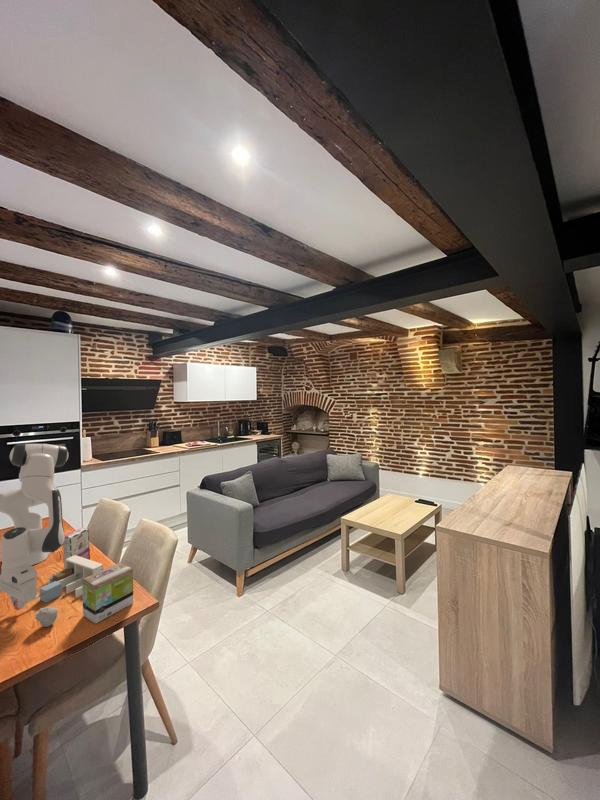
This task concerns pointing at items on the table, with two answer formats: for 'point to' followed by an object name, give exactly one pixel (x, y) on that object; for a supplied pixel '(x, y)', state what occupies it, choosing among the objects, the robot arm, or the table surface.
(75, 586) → the lane shelf
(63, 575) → the walnut block
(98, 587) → the tea box
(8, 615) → the table surface
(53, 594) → the tethered block
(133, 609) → the table surface
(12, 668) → the table surface
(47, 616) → the grey rounded lump
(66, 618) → the table surface
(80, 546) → the candy bar box
